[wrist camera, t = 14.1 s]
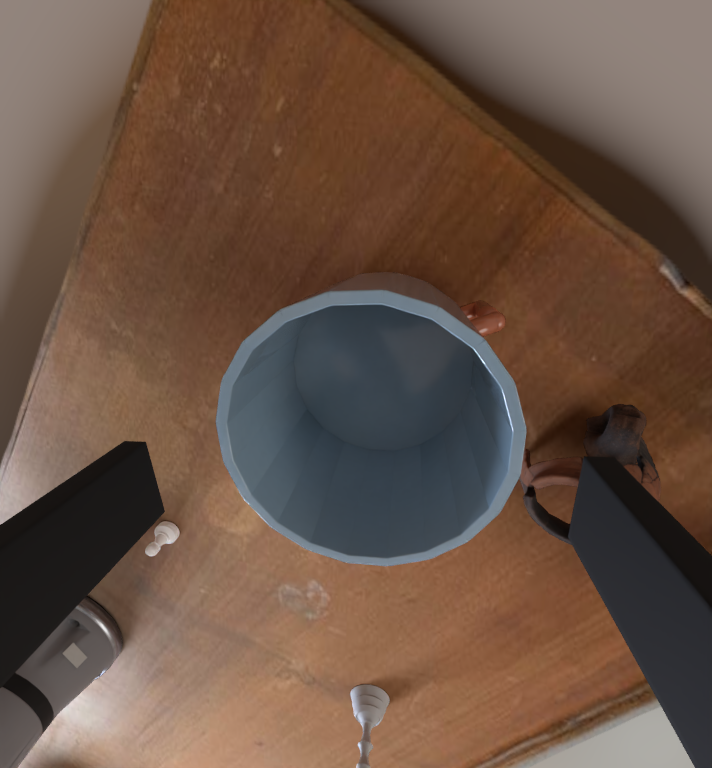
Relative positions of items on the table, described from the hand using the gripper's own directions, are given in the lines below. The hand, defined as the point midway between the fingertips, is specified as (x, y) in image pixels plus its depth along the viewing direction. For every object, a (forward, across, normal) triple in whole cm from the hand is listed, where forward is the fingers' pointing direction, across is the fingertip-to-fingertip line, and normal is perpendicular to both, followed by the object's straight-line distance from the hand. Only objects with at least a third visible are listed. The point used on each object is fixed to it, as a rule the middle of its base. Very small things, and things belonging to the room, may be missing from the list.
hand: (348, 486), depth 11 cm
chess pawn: (+20, +25, +22) cm, 39 cm away
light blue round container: (+11, 0, 0) cm, 11 cm away
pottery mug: (+20, -16, +10) cm, 28 cm away
